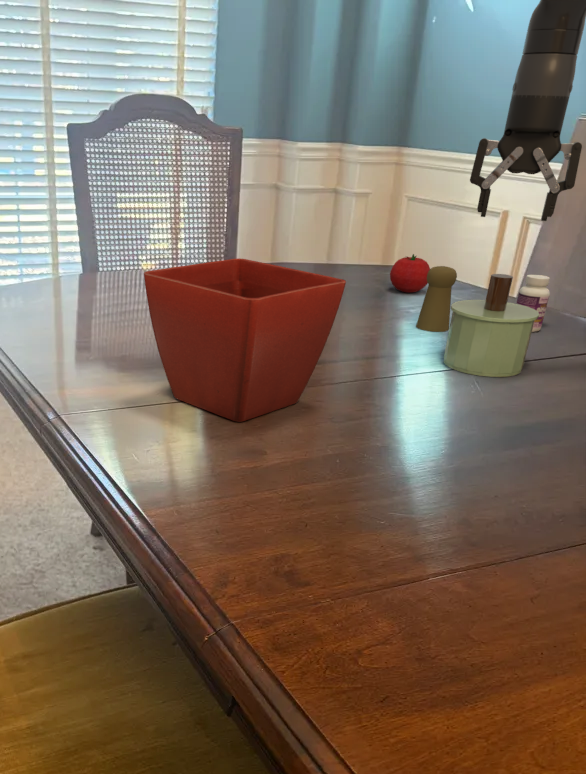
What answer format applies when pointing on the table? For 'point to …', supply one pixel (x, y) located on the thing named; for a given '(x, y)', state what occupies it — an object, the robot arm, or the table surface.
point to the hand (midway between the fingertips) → (512, 218)
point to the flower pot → (240, 332)
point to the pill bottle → (535, 297)
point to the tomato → (409, 274)
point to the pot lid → (496, 304)
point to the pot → (487, 346)
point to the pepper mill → (437, 300)
